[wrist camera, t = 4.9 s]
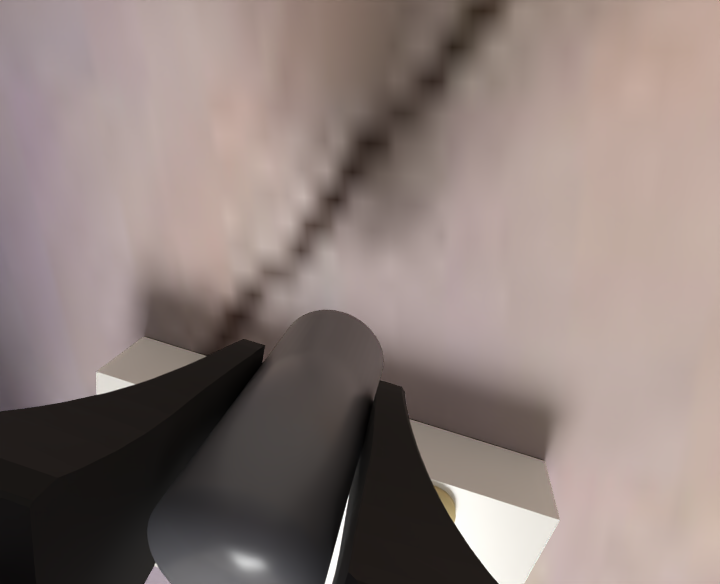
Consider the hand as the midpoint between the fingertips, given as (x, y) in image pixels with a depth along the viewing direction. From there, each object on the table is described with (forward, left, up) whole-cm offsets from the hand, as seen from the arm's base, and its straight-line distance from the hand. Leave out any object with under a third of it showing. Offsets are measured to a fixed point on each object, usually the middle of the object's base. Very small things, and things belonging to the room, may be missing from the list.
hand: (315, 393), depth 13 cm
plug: (0, 0, -2) cm, 2 cm away
